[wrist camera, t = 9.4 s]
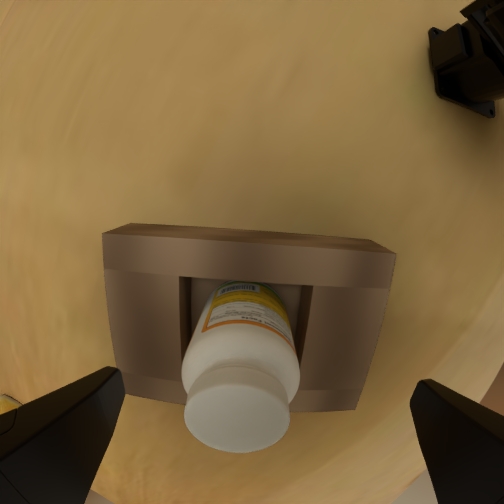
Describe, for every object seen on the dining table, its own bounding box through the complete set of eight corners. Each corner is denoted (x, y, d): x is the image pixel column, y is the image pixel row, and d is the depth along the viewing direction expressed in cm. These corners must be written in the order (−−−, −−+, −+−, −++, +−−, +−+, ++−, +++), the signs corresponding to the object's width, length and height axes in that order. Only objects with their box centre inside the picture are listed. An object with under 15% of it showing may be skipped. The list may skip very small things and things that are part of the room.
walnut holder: (370, 239, 18) (396, 253, 15) (341, 377, 21) (355, 409, 17) (130, 223, 18) (102, 233, 15) (140, 362, 21) (122, 393, 17)
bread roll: (13, 388, 23) (-4, 405, 19) (58, 441, 25) (45, 460, 21) (-7, 396, 24) (-21, 410, 20) (32, 442, 26) (21, 459, 22)
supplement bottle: (248, 363, 20) (244, 475, 10) (188, 317, 19) (140, 418, 10) (303, 312, 19) (338, 416, 9) (241, 259, 18) (225, 339, 9)
